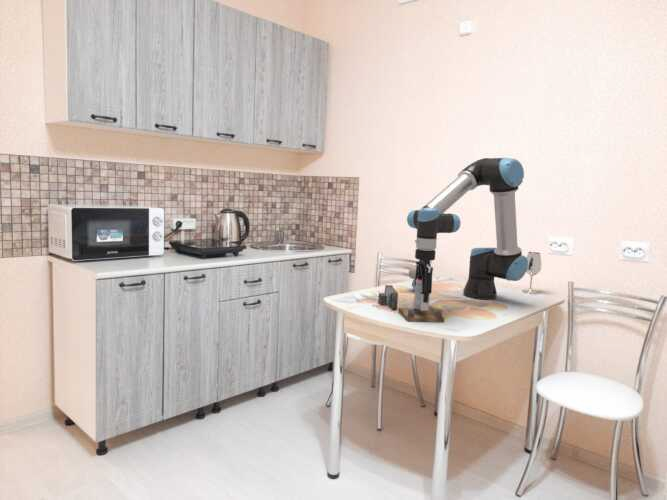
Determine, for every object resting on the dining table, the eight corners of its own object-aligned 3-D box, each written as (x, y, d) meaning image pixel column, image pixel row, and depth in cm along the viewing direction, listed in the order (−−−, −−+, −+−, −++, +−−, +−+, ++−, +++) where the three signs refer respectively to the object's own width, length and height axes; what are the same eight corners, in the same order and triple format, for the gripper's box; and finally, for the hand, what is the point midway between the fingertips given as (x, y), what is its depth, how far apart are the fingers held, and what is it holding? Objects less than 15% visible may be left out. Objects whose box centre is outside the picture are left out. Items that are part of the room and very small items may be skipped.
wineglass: (521, 292, 250) (525, 252, 247) (521, 289, 257) (526, 251, 254) (538, 294, 247) (542, 254, 244) (538, 291, 254) (542, 252, 252)
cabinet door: (429, 309, 207) (430, 292, 206) (443, 322, 189) (445, 304, 188) (390, 308, 205) (392, 292, 204) (402, 321, 187) (403, 303, 186)
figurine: (409, 288, 246) (411, 264, 244) (425, 290, 243) (427, 266, 242) (406, 291, 239) (407, 266, 237) (421, 293, 236) (423, 268, 234)
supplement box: (428, 311, 192) (430, 282, 190) (412, 310, 193) (415, 281, 191) (428, 308, 197) (431, 279, 196) (413, 306, 198) (415, 278, 197)
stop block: (383, 302, 215) (384, 293, 215) (386, 305, 210) (387, 296, 210) (378, 302, 215) (378, 293, 214) (380, 305, 210) (381, 295, 210)
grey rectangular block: (397, 307, 206) (398, 292, 205) (389, 307, 206) (390, 292, 205) (391, 299, 220) (392, 285, 220) (384, 298, 220) (385, 285, 219)
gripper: (409, 245, 201) (405, 301, 204) (423, 252, 181) (419, 314, 185) (427, 245, 202) (423, 301, 205) (443, 253, 182) (438, 314, 186)
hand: (421, 307), depth 195 cm, fingers closed on supplement box, 7 cm apart
